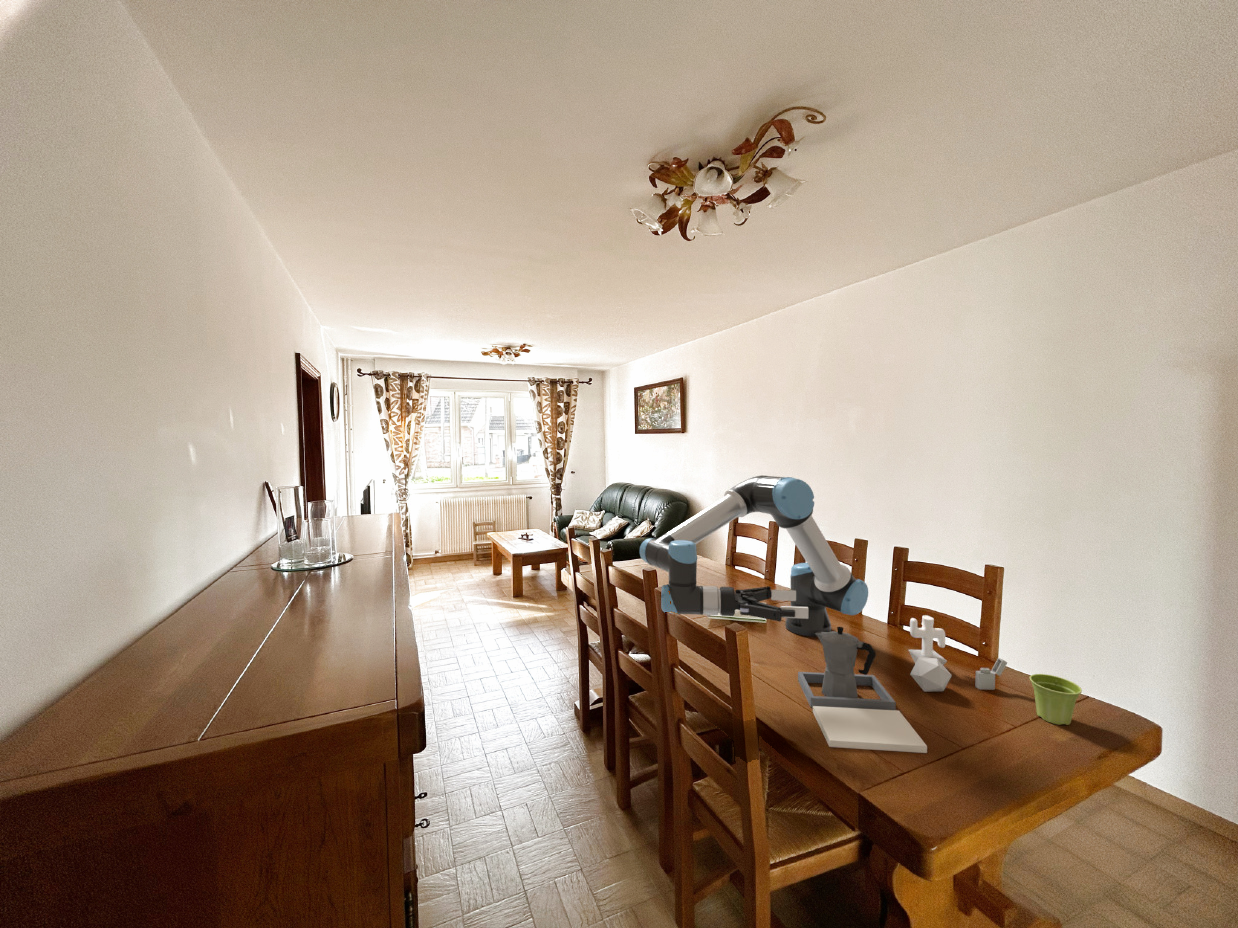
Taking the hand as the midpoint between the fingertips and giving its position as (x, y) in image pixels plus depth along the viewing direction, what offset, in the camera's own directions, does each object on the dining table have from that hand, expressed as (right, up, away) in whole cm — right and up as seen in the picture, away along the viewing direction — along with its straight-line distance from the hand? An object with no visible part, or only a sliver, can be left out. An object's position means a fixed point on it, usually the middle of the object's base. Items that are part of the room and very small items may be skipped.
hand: (801, 603), depth 131 cm
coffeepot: (+11, -24, 0) cm, 27 cm away
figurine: (+42, -23, +15) cm, 50 cm away
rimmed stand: (+11, -24, 0) cm, 26 cm away
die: (+36, -24, +3) cm, 43 cm away
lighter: (+52, -24, +3) cm, 57 cm away
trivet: (+9, -25, -16) cm, 31 cm away
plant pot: (+56, -24, -12) cm, 62 cm away
